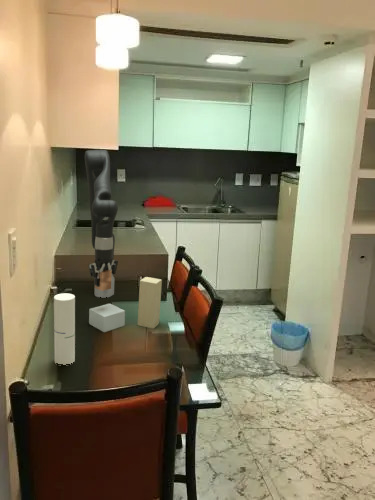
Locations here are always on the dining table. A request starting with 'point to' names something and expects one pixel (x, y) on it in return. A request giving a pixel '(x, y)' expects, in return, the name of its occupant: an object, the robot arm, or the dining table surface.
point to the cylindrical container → (64, 328)
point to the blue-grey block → (106, 317)
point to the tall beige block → (149, 302)
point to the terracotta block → (105, 280)
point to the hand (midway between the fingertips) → (103, 285)
